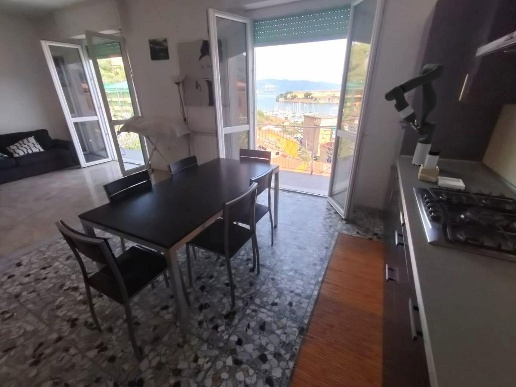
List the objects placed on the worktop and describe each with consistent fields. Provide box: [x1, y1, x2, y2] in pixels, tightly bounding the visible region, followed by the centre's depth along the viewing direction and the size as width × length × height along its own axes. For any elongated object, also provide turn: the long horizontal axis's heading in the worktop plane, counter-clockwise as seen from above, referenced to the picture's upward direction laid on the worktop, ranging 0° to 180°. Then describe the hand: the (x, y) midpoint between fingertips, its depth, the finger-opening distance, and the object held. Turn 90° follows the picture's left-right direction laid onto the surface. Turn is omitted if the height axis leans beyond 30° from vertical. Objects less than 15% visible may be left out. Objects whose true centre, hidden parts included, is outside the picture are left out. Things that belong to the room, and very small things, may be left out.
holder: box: [417, 164, 440, 183], centre depth 159 cm, size 11×10×8 cm
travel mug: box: [424, 149, 442, 170], centre depth 156 cm, size 6×7×20 cm
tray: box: [436, 175, 466, 191], centre depth 149 cm, size 14×13×2 cm
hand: (421, 134), depth 152 cm, fingers open, 8 cm apart
